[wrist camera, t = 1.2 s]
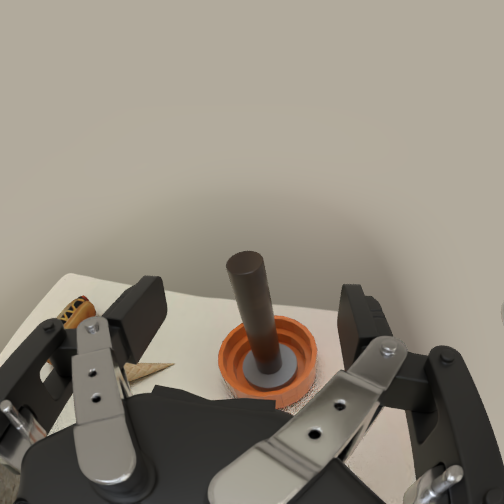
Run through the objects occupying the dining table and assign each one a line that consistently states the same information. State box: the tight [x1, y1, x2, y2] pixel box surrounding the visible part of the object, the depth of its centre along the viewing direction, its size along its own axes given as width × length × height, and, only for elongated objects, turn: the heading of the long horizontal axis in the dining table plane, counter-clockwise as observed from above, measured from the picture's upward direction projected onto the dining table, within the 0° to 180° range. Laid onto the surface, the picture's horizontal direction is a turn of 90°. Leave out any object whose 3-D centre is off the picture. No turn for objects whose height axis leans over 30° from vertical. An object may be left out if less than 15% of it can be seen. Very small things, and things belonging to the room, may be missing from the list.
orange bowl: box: [218, 315, 317, 409], centre depth 30 cm, size 10×10×4 cm
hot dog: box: [47, 295, 96, 365], centre depth 37 cm, size 5×13×5 cm, turn 162°
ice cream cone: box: [124, 363, 173, 382], centre depth 31 cm, size 5×5×15 cm
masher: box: [226, 251, 298, 392], centre depth 26 cm, size 6×6×16 cm
